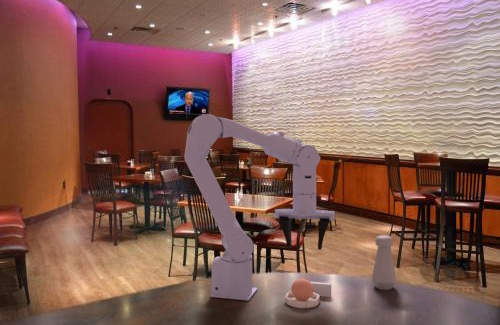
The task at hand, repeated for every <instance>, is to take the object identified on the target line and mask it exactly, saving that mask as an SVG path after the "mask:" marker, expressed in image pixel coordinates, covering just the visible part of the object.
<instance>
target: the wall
mask: <svg viewBox="0 0 500 325" xmlns="http://www.w3.org/2000/svg"><path fill="white" fill-rule="evenodd" d="M309 282H310V283H311V284H312V286H313V292H314V293H316V294H318V295H320V297H325V298H331V297H332V283H331V282H330V283H329V282H320V281H319V282H317V281H309Z"/></svg>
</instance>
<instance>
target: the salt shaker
mask: <svg viewBox="0 0 500 325" xmlns="http://www.w3.org/2000/svg"><path fill="white" fill-rule="evenodd" d="M375 245H376V246H377V249H376V255H375V260H374V264H373V270H372V274H371V279H372V282H373V284H374V287H375V289H378V290H380V291H390V290H392V289H393V288H394V287H395V284H396V281H397V276H396V270H395V266H394V259H393V253H392V247H394V239H393V237H392V236H390V235H386V234H385V235H384V234H383V235H377V236H376V237H375Z"/></svg>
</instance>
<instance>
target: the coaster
mask: <svg viewBox="0 0 500 325" xmlns="http://www.w3.org/2000/svg"><path fill="white" fill-rule="evenodd" d="M320 297H321V296H320V295H318V294H316V293H314V292H313V293H312V296H311V297H310V298H309V299H308V300H305V301H300V300H297V299H296V298H295V297H294V296H293V295H292V292H291V291H287V292H286V294H285V296H284V301H285V303H286V304H287V306H289V305H290V306H289V307H293V308H297V309H311V308H315V307H317V306H318V305H319V303H320V300H321V298H320Z"/></svg>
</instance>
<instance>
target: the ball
mask: <svg viewBox="0 0 500 325" xmlns="http://www.w3.org/2000/svg"><path fill="white" fill-rule="evenodd" d="M310 282H311V281H310V280H308V279H306V278H297V279H296V280H294V281H293V283H292V285H291V287H290V288H291V291H290V292H292V295H293V296H294V297H295V298H296V299H297V300H300V301H305V300H308V299H309V298H310V297H311V296H312V293H313V286H312V284H311V283H310Z"/></svg>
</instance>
